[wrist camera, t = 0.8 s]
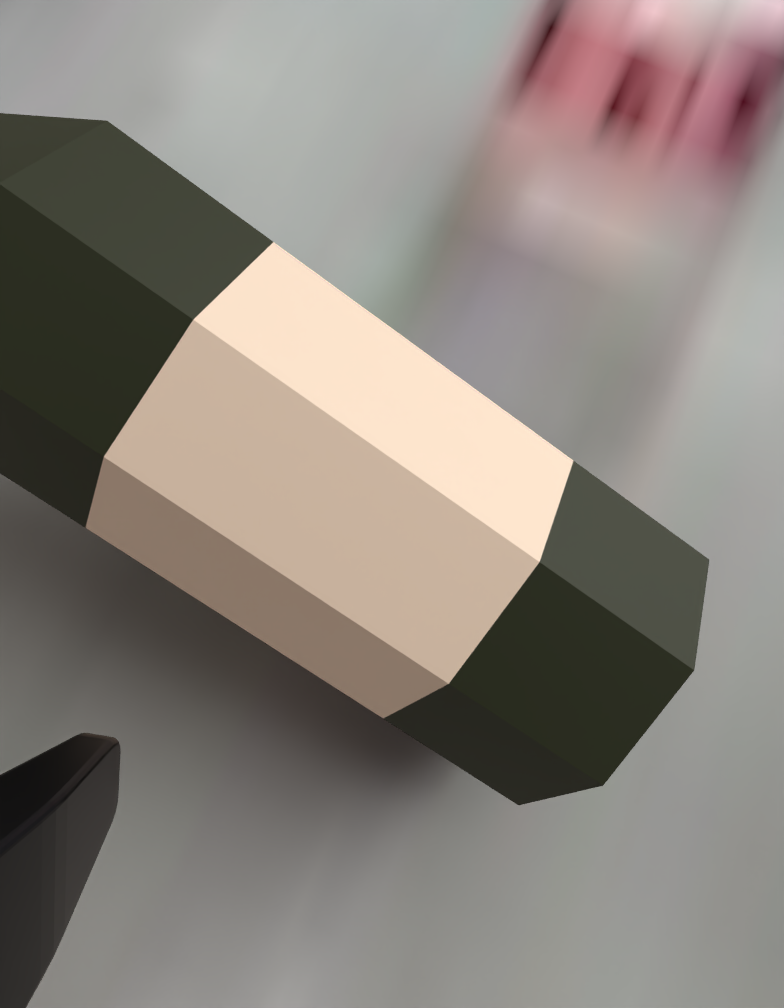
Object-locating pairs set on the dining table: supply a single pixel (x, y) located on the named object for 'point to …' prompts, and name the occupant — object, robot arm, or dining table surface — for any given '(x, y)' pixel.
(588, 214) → the dining table surface
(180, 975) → the dining table surface
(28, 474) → the wine bottle
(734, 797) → the dining table surface
